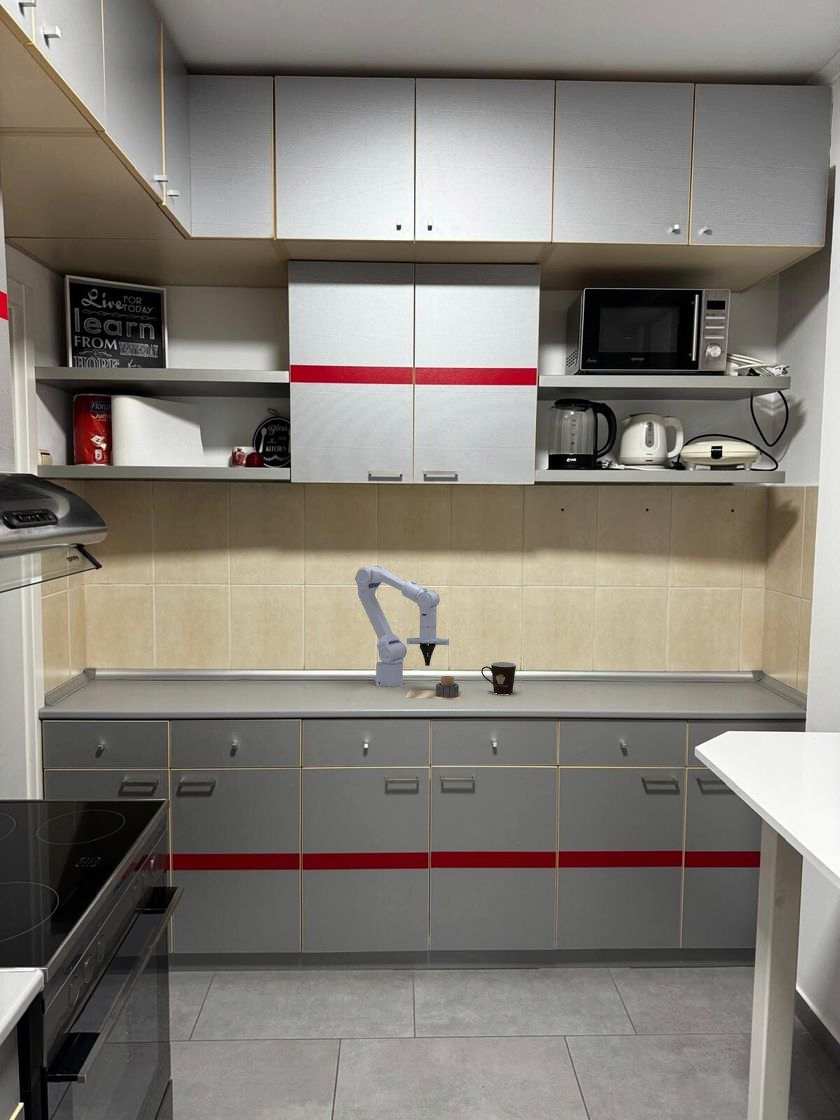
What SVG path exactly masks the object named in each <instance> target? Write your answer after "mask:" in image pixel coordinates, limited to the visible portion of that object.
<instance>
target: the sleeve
mask: <svg viewBox="0 0 840 1120" xmlns="http://www.w3.org/2000/svg"><path fill="white" fill-rule="evenodd" d="M435 691H436V696H438V697H444V698H453V697H458V696H459V691H460V684H458V683H456V682H454V686H451V687H444V686H441V682H437V683H436V684H435Z"/></svg>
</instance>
